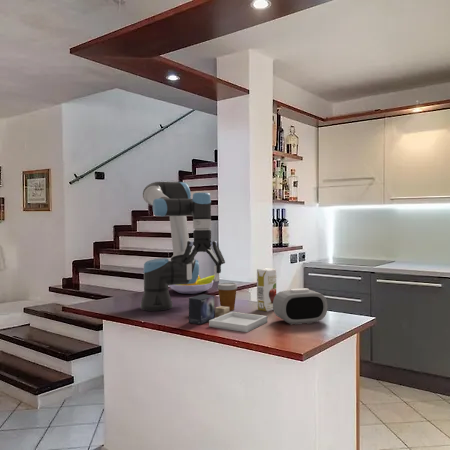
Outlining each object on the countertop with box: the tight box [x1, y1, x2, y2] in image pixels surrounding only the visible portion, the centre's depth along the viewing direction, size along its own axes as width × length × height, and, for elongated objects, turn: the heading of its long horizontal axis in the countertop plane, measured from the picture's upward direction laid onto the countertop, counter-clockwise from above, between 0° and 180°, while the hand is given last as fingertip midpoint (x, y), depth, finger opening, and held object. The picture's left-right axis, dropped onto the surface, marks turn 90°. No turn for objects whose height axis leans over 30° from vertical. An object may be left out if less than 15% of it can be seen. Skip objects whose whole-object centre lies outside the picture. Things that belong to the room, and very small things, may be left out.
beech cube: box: [214, 305, 231, 318], centre depth 191 cm, size 4×4×4 cm
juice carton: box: [256, 267, 277, 312], centre depth 206 cm, size 8×9×19 cm
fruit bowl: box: [168, 274, 214, 295], centre depth 254 cm, size 28×27×11 cm
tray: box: [208, 311, 268, 333], centre depth 179 cm, size 17×18×2 cm
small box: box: [188, 293, 215, 325], centre depth 184 cm, size 11×6×10 cm, turn 148°
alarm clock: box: [272, 287, 328, 326], centre depth 182 cm, size 21×10×13 cm, turn 106°
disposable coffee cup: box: [217, 282, 238, 312], centre depth 206 cm, size 10×10×12 cm
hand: (202, 280), depth 185 cm, fingers open, 13 cm apart
